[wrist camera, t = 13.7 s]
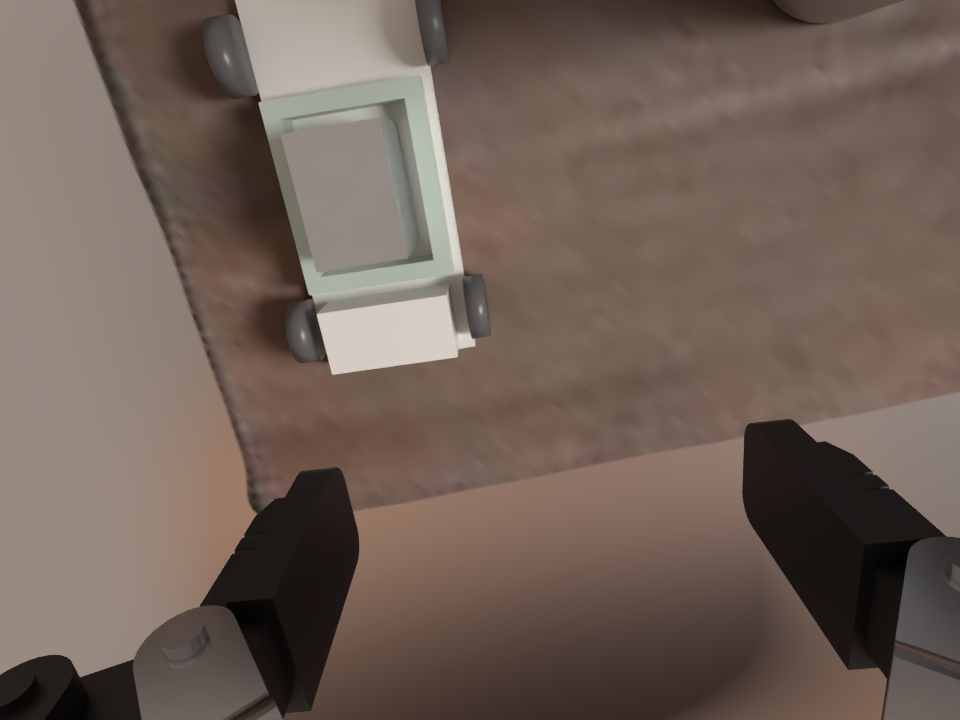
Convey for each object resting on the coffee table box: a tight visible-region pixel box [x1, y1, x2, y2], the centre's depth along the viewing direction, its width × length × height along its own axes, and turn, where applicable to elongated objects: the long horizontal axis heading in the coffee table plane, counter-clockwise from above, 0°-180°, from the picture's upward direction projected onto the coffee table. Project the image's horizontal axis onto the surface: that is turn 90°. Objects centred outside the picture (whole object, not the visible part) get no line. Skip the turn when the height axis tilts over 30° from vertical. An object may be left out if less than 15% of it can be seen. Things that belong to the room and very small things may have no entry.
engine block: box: [281, 117, 419, 273], centre depth 32 cm, size 5×7×6 cm
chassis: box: [202, 0, 491, 375], centre depth 34 cm, size 12×22×4 cm, turn 9°
